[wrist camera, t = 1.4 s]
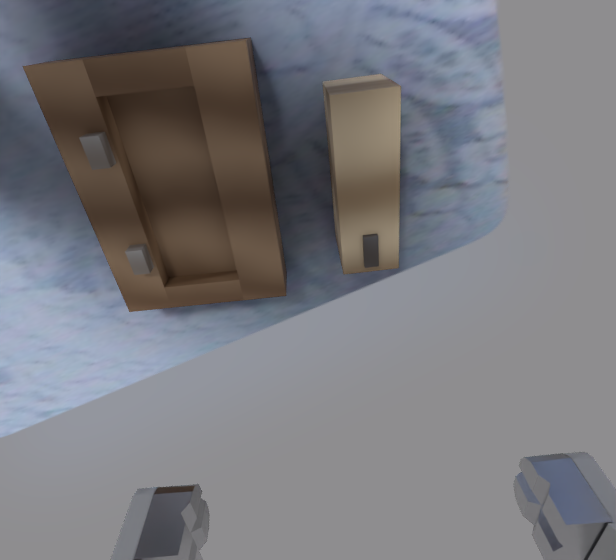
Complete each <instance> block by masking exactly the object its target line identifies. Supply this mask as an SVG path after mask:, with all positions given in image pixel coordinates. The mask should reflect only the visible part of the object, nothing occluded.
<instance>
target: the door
mask: <svg viewBox="0 0 616 560" xmlns="http://www.w3.org/2000/svg"><path fill="white" fill-rule="evenodd" d="M323 94H324V105H325V117H326V129H327V140H328V152H329V164H330V175H331V187H332V199H333V210H334V222H335V234H336V241H337V246H338V250H339V255H340V260H341V265H342V269H343V274H352V273H361V272H369V271H378V270H386V269H395V268H399V207H400V126H401V86H400V85H398V84H397V83H395V82H394V81H392V80H390V79H389V78H387V77H385V76H384V75H382V74H376V75H369V76H361V77H353V78H346V79H338V80H331V81H323Z"/></svg>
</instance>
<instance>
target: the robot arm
mask: <svg viewBox="0 0 616 560" xmlns="http://www.w3.org/2000/svg"><path fill="white" fill-rule="evenodd" d="M519 467H520V469H521V471H522V472H521V473H519V474H518V475H517V476H515V481H514V491H515V497H516V500H517V503H518V506H519V508H520V510H521V513H522V515H523V516H524V517H525V518H526V519H527V520H529V521H530V522H531V523H532V524H533V525H534V528H533V534H532V536H533V538H534V540H535V542H536V544H537V546H538V548H539V550H540V552H541V554H542V556H543V559H544V560H616V489H615V487H614V486H613V485H612V483H611V482H610V480H609V479H608V478H607V476H606V475H605V474H604V472H603V471H602V469H601V468H600V467H599V465H598V464H597V462H596V461H595V460H594V458H593V457H592V456H591V455H589V454H588V453H585V452H577V453H566V454H563V453H561V454H551V455H541V456H532V457H524V458H522V459H521V461H520V464H519ZM201 494H202V490H201V488H200V486H199V484H193V485H181V486H169V487H153V488H142V489H137V491H136V493H135V494H134V496H133V497H132V500H131V503H130V506H129V509H128V511H127V514H126V517H125V520H124V523H123V526H122V528H121V531H120V534H119V537H118V540H117V543H116V545H115V548H114V551H113V554H112V557H111V560H203V559H202V557H201V554H200V552H199V550H200V549H201V548H202V546H203V545H204V544H205V543H206V541H207V537H208V530H209V510H208V506H207V503H206V501H205V500H203V499H201Z"/></svg>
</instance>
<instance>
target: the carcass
mask: <svg viewBox="0 0 616 560" xmlns="http://www.w3.org/2000/svg"><path fill="white" fill-rule="evenodd" d="M23 69H24V71H25V73H26V75H27V78H28V80H29V82H30V85H31V87H32V89H33V91H34V94H35V96H36V98H37V101H38V103H39V105H40V108H41V110H42V112H43V114H44V117H45V119H46V121H47V124H48V126H49V128H50V130H51V133H52V135H53V137H54V140H55V142H56V144H57V147H58V149H59V151H60V153H61V156H62V158H63V160H64V163H65V165H66V167H67V169H68V172H69V174H70V176H71V179H72V181H73V183H74V186H75V188H76V190H77V192H78V195H79V197H80V199H81V202H82V204H83V206H84V208H85V211H86V213H87V215H88V218H89V220H90V222H91V225H92V227H93V229H94V231H95V234H96V236H97V238H98V241H99V243H100V245H101V247H102V250H103V252H104V254H105V257H106V259H107V261H108V264H109V266H110V268H111V270H112V273H113V275H114V277H115V280H116V282H117V284H118V286H119V289H120V291H121V293H122V296H123V298H124V300H125V303H126V305H127V307H128V309H129V312H133V311H143V310H153V309H162V308H172V307H182V306H192V305H201V304H211V303H221V302H231V301H240V300H250V299H260V298H270V297H279V296H286V279H287V272H286V266H285V259H284V253H283V246H282V240H281V233H280V226H279V220H278V213H277V207H276V200H275V193H274V187H273V180H272V174H271V167H270V161H269V154H268V147H267V141H266V134H265V128H264V121H263V115H262V108H261V101H260V95H259V88H258V82H257V75H256V68H255V62H254V55H253V49H252V42H251V38H244V39H236V40H227V41H219V42H210V43H202V44H193V45H185V46H176V47H168V48H159V49H151V50H142V51H134V52H125V53H117V54H108V55H100V56H91V57H83V58H74V59H66V60H57V61H50V62H44V63H39V64H33V65H28V66H23Z"/></svg>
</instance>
